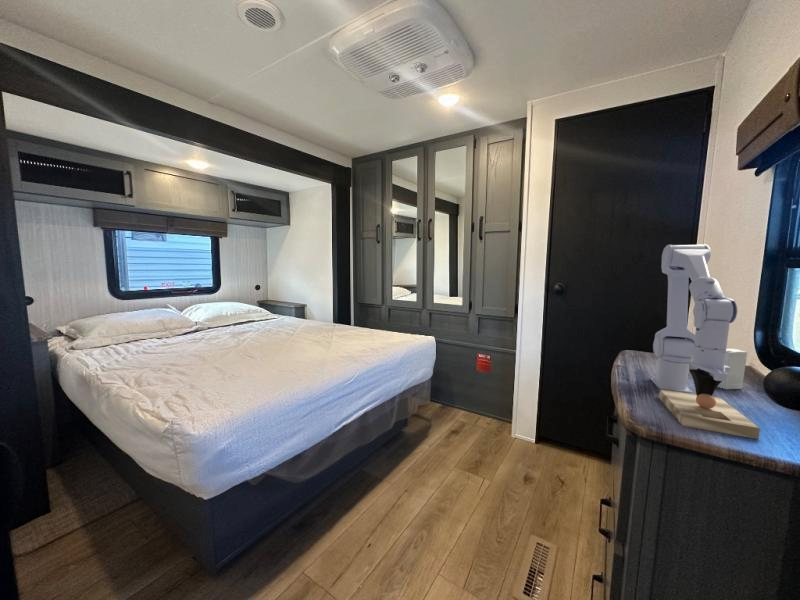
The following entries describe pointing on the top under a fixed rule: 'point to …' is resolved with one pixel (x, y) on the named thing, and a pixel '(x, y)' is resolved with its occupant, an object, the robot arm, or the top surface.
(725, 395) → the top surface
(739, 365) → the skincare box
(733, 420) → the beige flat board
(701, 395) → the ball
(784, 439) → the top surface
